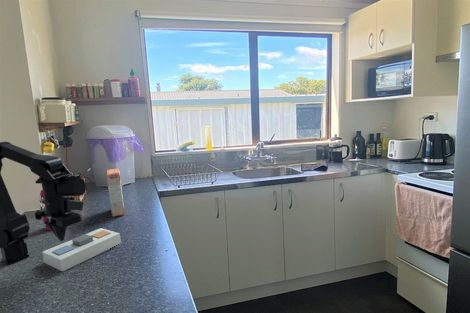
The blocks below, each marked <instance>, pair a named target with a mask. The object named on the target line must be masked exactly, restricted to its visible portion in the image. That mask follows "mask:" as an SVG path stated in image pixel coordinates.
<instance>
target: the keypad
mask: <svg viewBox="0 0 470 313" xmlns="http://www.w3.org/2000/svg"><path fill="white" fill-rule="evenodd" d="M102 230H103V231H107V232H110V234H108V235H106V236H104V237H101V238H99V239H98V238H95V237H93V241H92V242H90V243H88V244H85V245H83V246H81V247H79V246H76V245H74V244H73V242H72V239H71V240H68V241H65V242H63V243H60V244H58V245H56V246H53V247H51V248H48V249H45V250H44V251H42V252H41V253H42V259H43V263H44V264H46V265H48V266H51V267H52V268H54V269H57V270H58V271H60V272H65V271H67V270H68V269H70V268H71V269H72V268H73V267H75V266H78V265H79V264H81V263H83V262H85V261H87V260H89V259H92V258H93V257H96V256H98V255H100V254H102V253H104V252H106V251H108V250H110V248H111V249H113V248H115V247H117V246H119V245H121V244H122V239H121V233H120V232H116V231H113V230H109V229H106V228H102V227H100V228H97V229H95V230H92V231H90V232H87V233H85V234H86V235H89V236H91V235H93V234H95V233H98V232H100V231H102ZM120 243H121V244H120ZM118 244H119V245H118ZM66 245H67V246H69V247H72V248H74V250H71V251H69V252H67V253H65V254H62V255H60V256H58V255H56V254H53V253H52V251H54V250H56V249H59V248H61V247H64V246H66ZM116 245H117V246H116ZM114 246H115V247H114ZM112 247H113V248H112Z"/></svg>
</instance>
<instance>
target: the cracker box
mask: <svg viewBox="0 0 470 313" xmlns="http://www.w3.org/2000/svg"><path fill="white" fill-rule="evenodd" d="M106 171H107V172H106V179H107V188H108V195H109V203H110V204H109V205H110V212H111V217H112V218H113V217H114V218H115V217H119V216H124V215H125V205H124V197H123V188H122V187H123V186H122V179H121V172H120V168H112V169H110V168H109V169H107V170H106Z"/></svg>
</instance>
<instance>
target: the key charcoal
mask: <svg viewBox="0 0 470 313" xmlns="http://www.w3.org/2000/svg"><path fill="white" fill-rule="evenodd" d="M86 234H87V233H85V234H82V235H79V236H77V237H75V238H72V239H71V240H72V242H73V244H74V245H76V246H79V247H81V246H83V245H85V244H88V243H90V242H92V241H93V237H92V236H89V235H86Z"/></svg>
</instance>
